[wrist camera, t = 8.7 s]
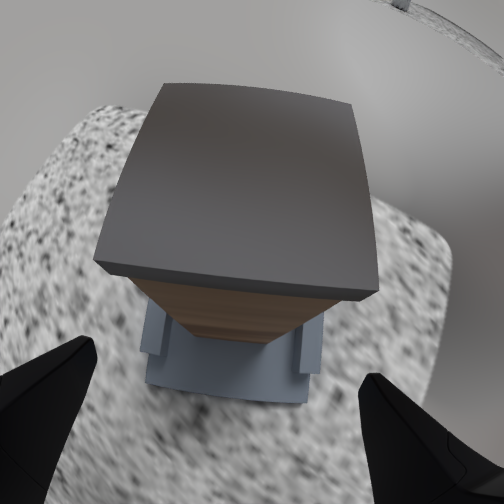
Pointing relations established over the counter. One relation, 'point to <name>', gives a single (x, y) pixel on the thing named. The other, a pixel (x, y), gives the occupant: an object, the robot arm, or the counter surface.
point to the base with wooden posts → (231, 361)
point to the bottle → (401, 4)
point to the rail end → (243, 211)
